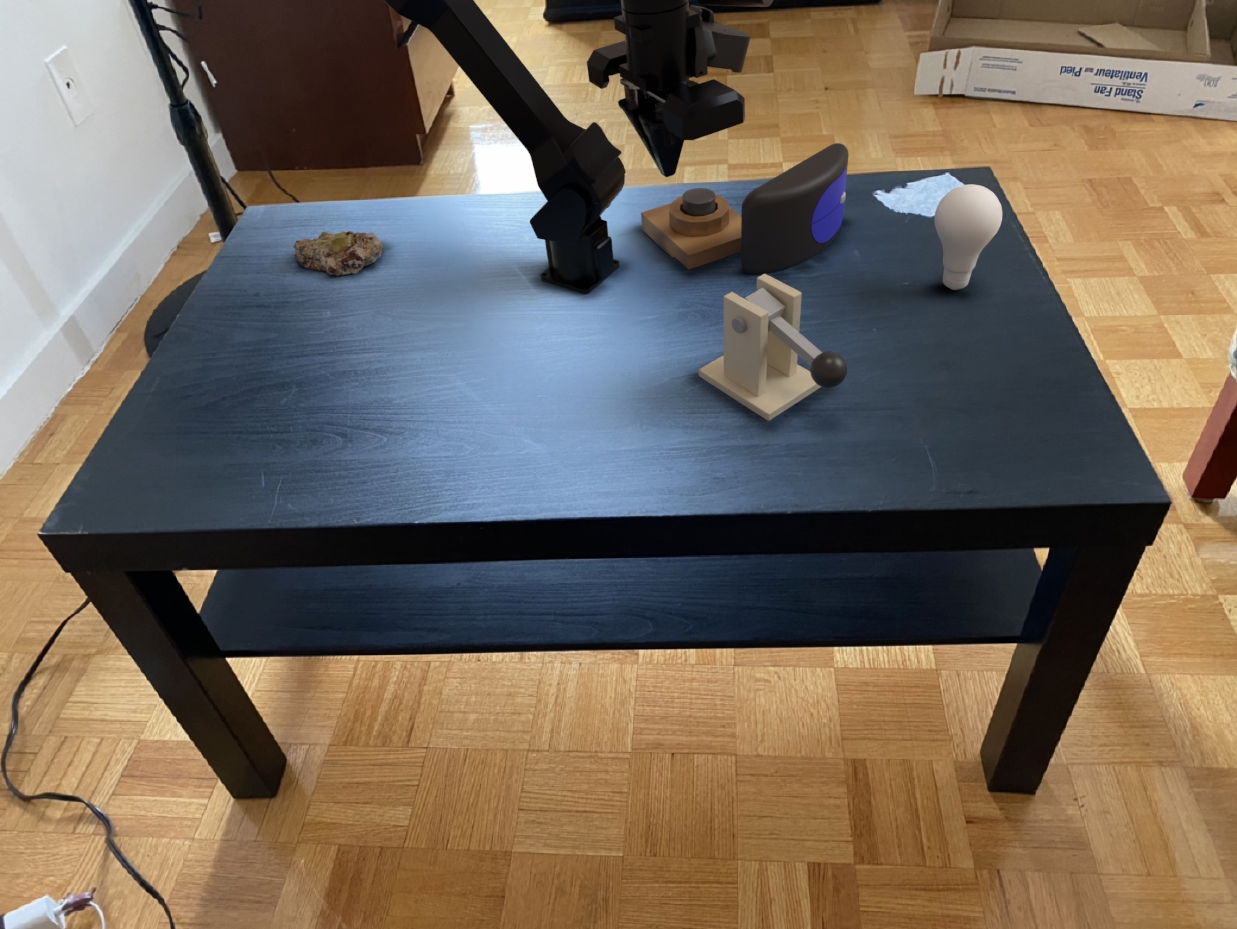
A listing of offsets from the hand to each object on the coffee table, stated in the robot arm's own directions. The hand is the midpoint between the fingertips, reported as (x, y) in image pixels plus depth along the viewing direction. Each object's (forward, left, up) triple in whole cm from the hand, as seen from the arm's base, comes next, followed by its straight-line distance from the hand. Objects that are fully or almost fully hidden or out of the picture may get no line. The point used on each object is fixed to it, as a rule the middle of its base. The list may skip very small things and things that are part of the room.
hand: (668, 175), depth 92 cm
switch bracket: (+15, -10, -13) cm, 22 cm away
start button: (-3, +10, -9) cm, 14 cm away
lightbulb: (+25, +13, -13) cm, 31 cm away
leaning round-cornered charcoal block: (+7, +13, -13) cm, 20 cm away
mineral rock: (-38, -12, -13) cm, 42 cm away
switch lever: (+19, -11, -7) cm, 23 cm away
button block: (-3, +10, -13) cm, 16 cm away
